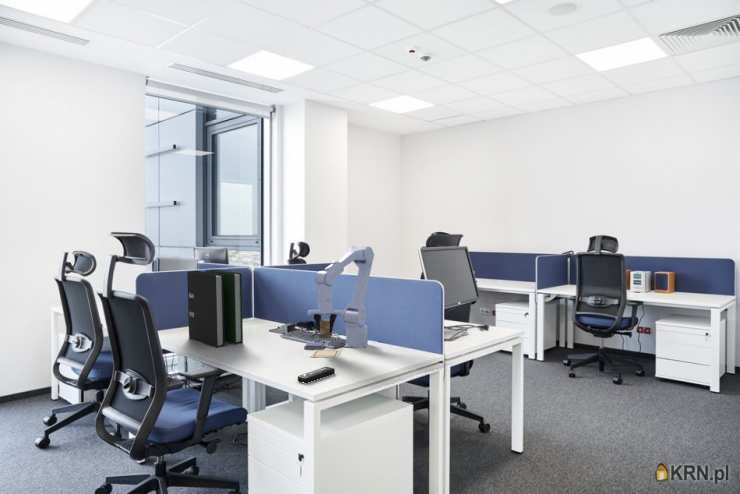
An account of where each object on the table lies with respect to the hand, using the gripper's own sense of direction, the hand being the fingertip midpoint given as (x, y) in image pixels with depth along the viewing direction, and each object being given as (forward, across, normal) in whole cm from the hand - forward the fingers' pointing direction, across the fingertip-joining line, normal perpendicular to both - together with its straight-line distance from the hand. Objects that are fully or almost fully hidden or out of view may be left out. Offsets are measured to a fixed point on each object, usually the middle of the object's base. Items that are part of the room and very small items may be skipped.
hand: (325, 332), depth 207 cm
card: (+9, 0, 0) cm, 9 cm away
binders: (+9, -55, +22) cm, 60 cm away
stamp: (+2, 0, 0) cm, 2 cm away
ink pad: (+9, -6, +10) cm, 15 cm away
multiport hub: (+10, +2, -32) cm, 34 cm away
